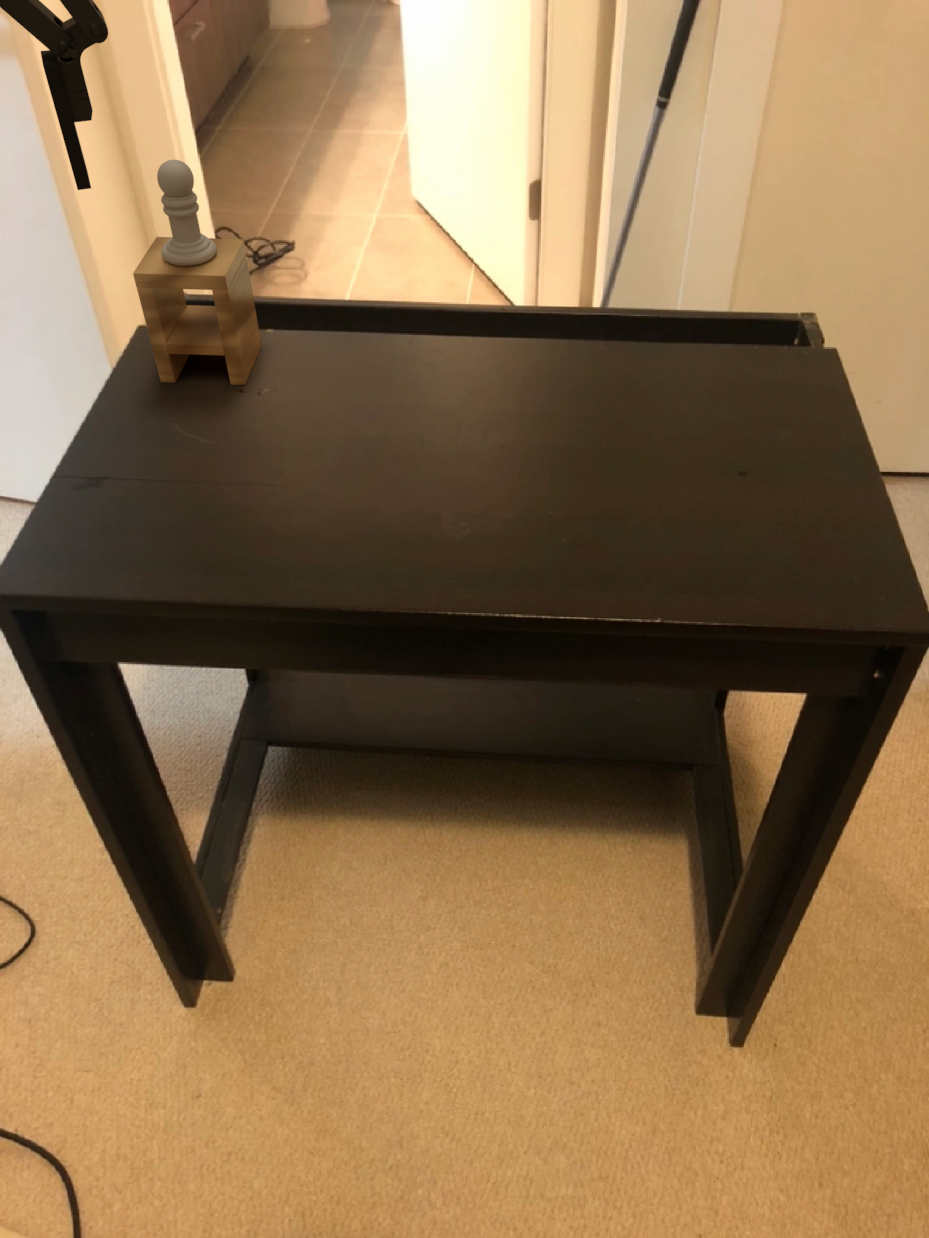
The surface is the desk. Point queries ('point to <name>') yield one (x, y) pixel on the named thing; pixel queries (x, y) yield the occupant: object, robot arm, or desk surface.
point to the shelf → (200, 310)
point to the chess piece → (182, 217)
